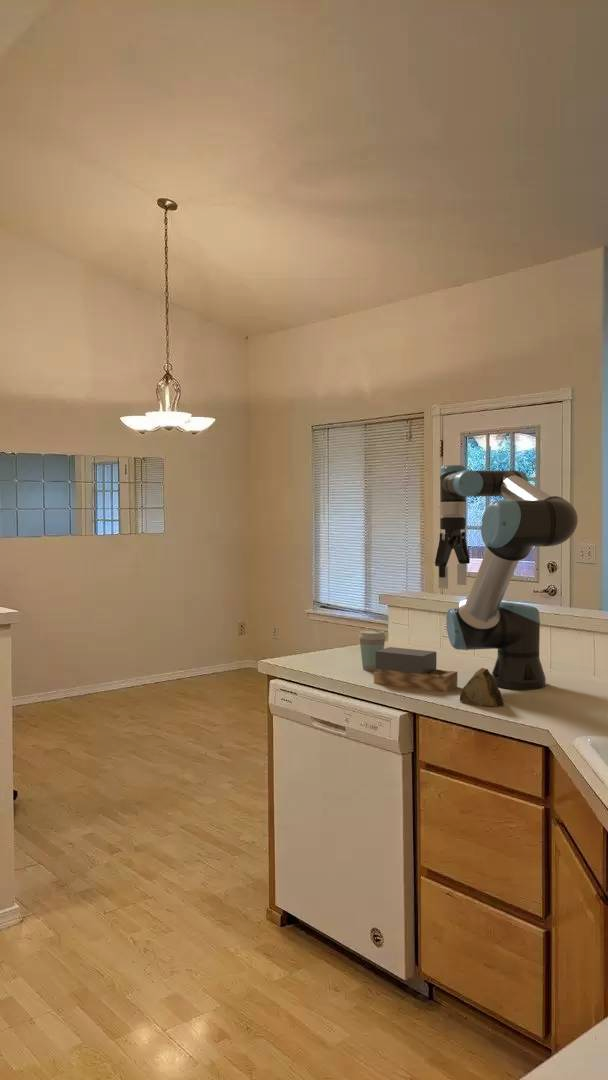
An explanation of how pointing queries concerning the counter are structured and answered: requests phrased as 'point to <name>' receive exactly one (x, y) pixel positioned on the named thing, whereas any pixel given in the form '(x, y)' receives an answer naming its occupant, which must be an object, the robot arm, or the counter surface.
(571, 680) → the counter surface
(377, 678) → the brown long open box
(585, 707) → the counter surface
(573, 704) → the counter surface
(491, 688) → the rock
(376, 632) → the coffee cup
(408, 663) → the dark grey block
